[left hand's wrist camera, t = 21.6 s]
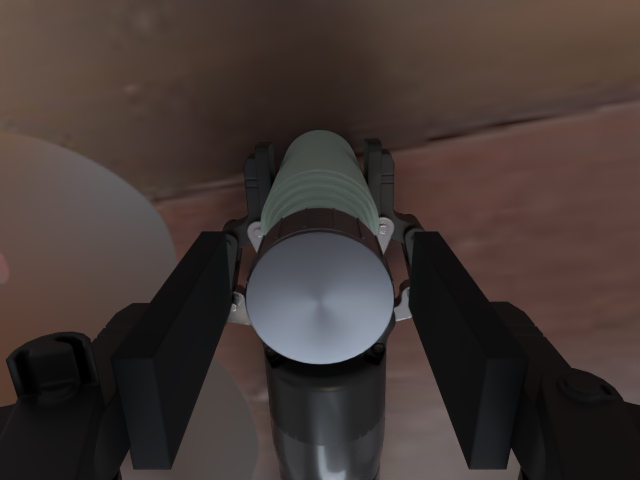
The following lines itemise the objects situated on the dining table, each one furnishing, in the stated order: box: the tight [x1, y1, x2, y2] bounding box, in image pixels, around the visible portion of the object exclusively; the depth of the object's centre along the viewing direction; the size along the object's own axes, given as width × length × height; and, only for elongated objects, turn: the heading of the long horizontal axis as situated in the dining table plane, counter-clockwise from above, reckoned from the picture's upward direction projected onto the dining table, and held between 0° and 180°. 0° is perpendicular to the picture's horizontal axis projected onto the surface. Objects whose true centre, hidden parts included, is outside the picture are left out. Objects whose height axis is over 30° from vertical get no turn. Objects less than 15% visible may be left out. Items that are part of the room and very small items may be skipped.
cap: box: [245, 208, 395, 364], centre depth 13 cm, size 4×4×2 cm
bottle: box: [261, 130, 379, 237], centre depth 21 cm, size 5×5×18 cm
